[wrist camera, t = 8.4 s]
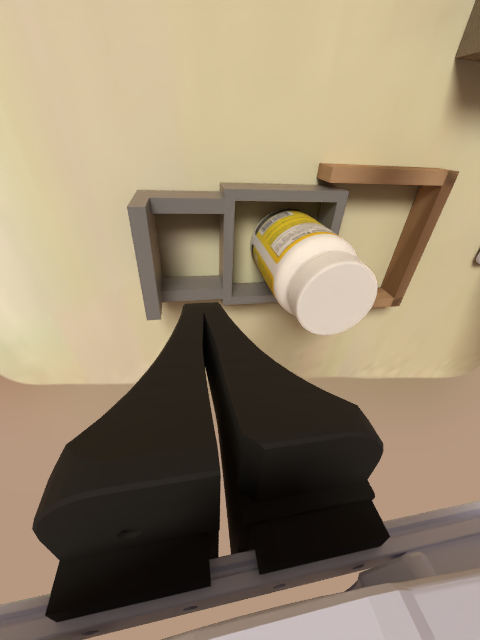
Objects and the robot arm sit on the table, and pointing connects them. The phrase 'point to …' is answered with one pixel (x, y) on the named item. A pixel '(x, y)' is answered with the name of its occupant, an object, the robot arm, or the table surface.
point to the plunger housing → (471, 37)
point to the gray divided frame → (223, 204)
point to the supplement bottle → (312, 272)
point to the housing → (418, 222)
